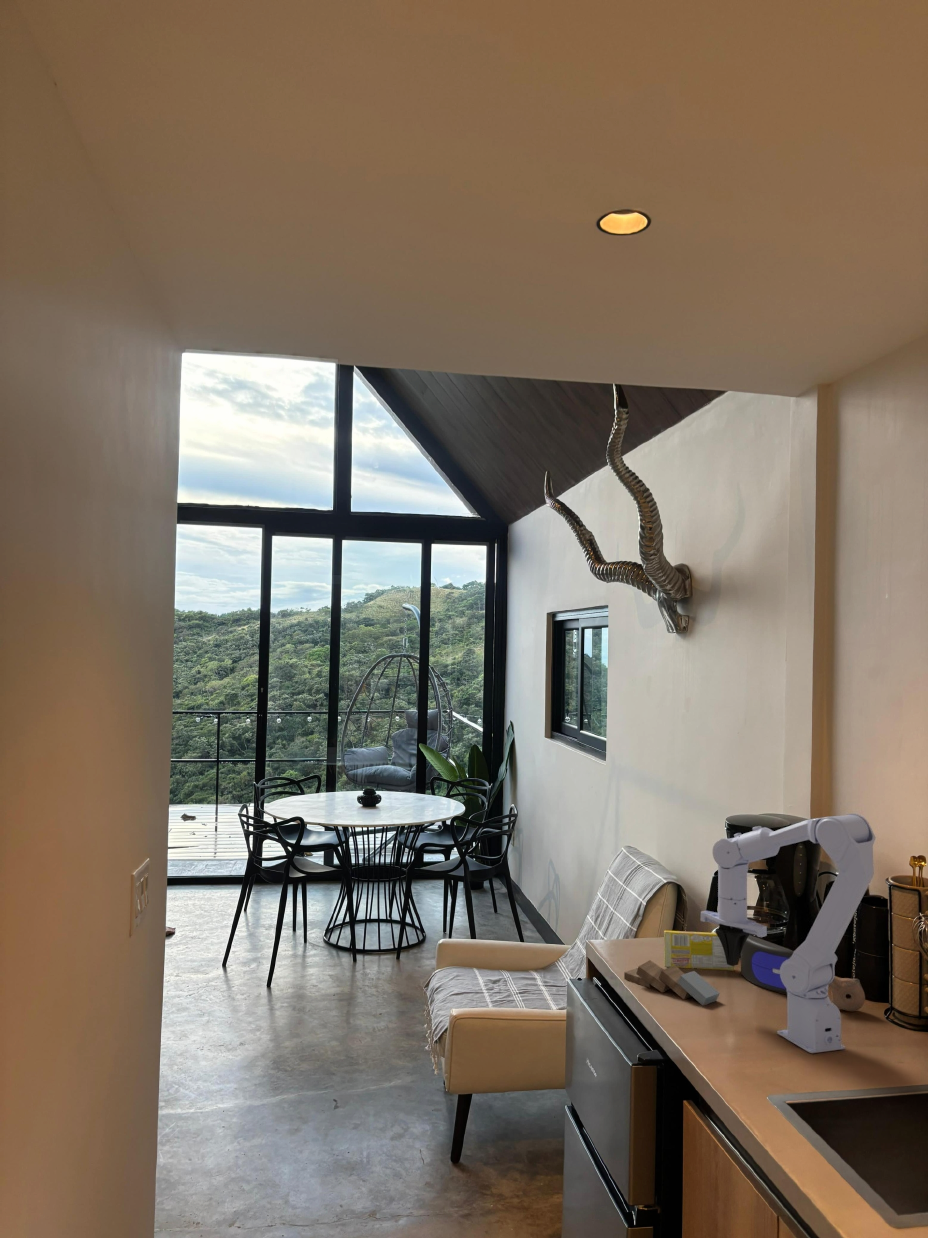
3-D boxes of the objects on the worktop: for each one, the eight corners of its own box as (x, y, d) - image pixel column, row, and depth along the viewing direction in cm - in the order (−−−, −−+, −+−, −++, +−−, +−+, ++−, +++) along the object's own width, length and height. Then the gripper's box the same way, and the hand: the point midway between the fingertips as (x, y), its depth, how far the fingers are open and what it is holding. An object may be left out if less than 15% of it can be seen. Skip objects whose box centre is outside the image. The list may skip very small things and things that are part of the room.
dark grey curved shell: (730, 975, 197) (730, 933, 198) (744, 973, 199) (744, 931, 200) (785, 999, 183) (785, 954, 183) (800, 996, 185) (800, 951, 186)
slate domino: (719, 993, 180) (694, 971, 185) (706, 998, 177) (680, 975, 182) (716, 1001, 180) (690, 978, 186) (702, 1006, 177) (677, 983, 182)
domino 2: (676, 978, 188) (650, 960, 192) (665, 985, 184) (638, 966, 188) (673, 986, 188) (647, 967, 192) (662, 993, 184) (636, 974, 189)
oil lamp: (821, 1012, 176) (821, 972, 176) (816, 1004, 180) (816, 966, 180) (867, 1015, 174) (866, 975, 175) (861, 1008, 178) (861, 969, 179)
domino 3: (700, 986, 184) (675, 965, 189) (687, 992, 180) (661, 970, 185) (696, 994, 184) (671, 973, 189) (683, 999, 181) (658, 978, 186)
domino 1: (663, 976, 191) (638, 968, 196) (649, 981, 187) (624, 972, 193) (663, 985, 191) (637, 977, 196) (649, 990, 187) (624, 981, 193)
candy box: (732, 968, 202) (732, 933, 203) (734, 971, 200) (734, 935, 201) (663, 964, 204) (663, 929, 205) (664, 967, 202) (664, 932, 202)
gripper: (775, 902, 173) (775, 970, 171) (714, 887, 184) (714, 952, 183) (755, 906, 168) (755, 977, 167) (694, 892, 180) (694, 957, 178)
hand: (732, 964), depth 175 cm, fingers closed
